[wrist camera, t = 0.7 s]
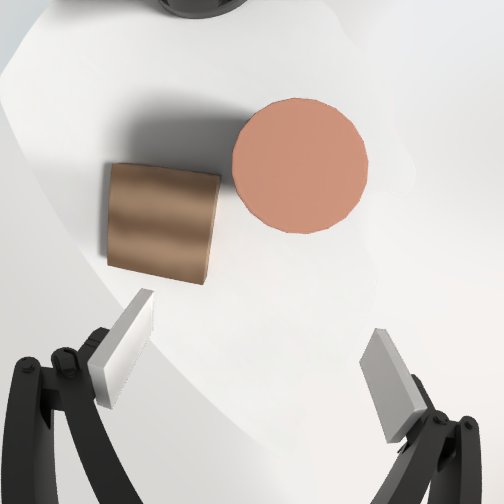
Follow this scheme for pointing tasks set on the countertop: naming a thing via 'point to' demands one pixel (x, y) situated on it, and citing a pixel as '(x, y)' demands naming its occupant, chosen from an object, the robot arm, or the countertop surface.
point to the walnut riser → (161, 221)
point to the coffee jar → (299, 165)
